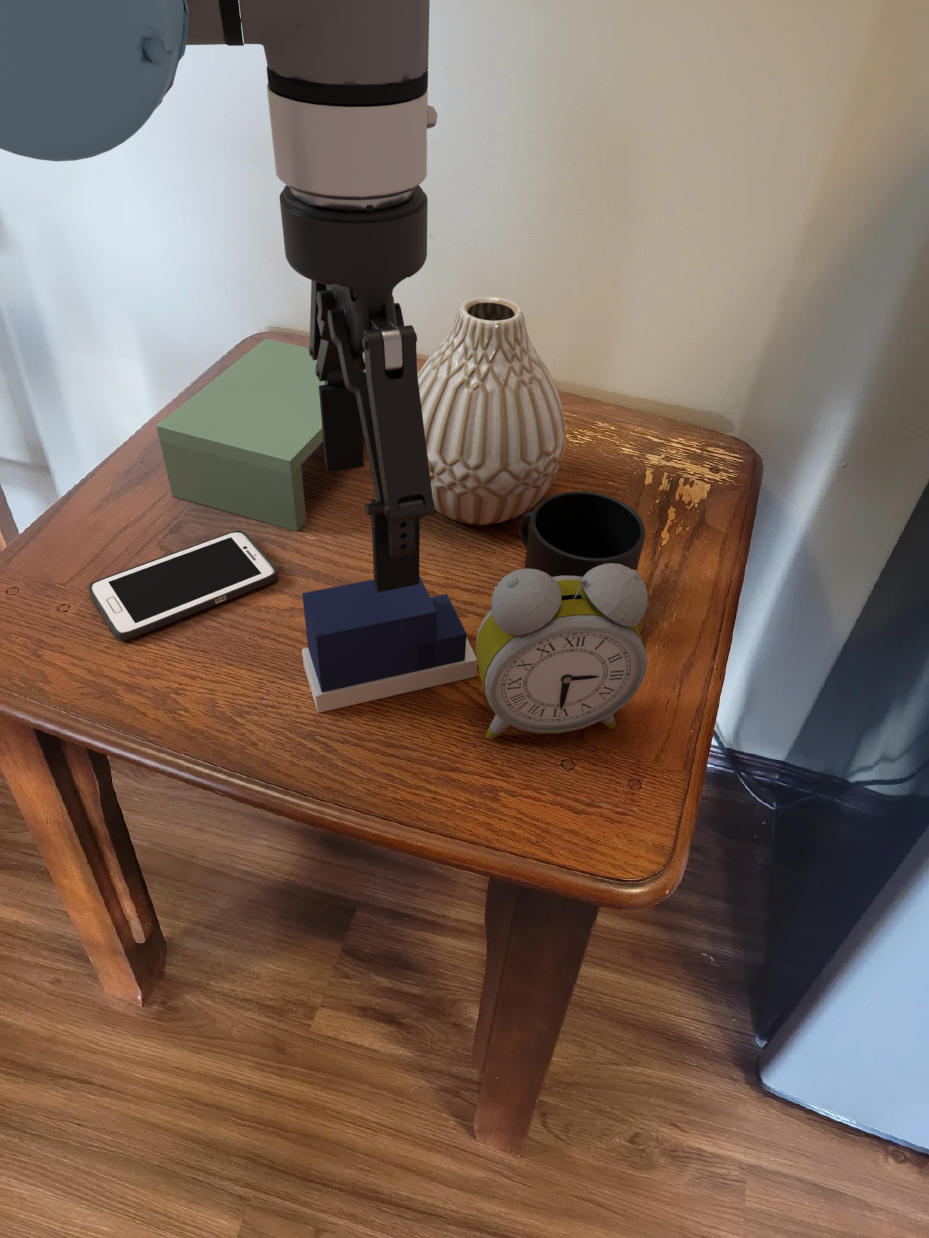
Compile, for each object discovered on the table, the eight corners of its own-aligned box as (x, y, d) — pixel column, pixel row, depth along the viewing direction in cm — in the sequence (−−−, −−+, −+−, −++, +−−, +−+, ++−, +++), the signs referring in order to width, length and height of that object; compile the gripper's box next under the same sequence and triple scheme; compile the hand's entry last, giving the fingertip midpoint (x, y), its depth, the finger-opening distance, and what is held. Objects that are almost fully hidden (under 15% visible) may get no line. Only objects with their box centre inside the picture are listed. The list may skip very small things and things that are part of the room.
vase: (419, 447, 93) (422, 262, 79) (563, 469, 91) (592, 284, 77) (380, 534, 81) (375, 336, 68) (544, 561, 80) (574, 364, 66)
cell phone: (86, 592, 73) (83, 584, 73) (243, 535, 80) (242, 527, 79) (119, 645, 69) (116, 637, 68) (282, 580, 76) (281, 572, 75)
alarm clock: (479, 756, 63) (494, 608, 53) (465, 687, 68) (476, 539, 57) (629, 742, 65) (673, 596, 54) (606, 676, 69) (641, 530, 59)
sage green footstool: (172, 496, 84) (155, 425, 79) (273, 403, 98) (265, 338, 92) (297, 532, 81) (290, 461, 76) (384, 431, 95) (383, 364, 89)
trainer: (317, 713, 65) (309, 639, 60) (303, 665, 69) (294, 592, 63) (476, 676, 69) (482, 604, 63) (455, 633, 72) (459, 561, 67)
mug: (551, 544, 82) (563, 464, 75) (647, 610, 75) (669, 529, 69) (478, 584, 77) (485, 503, 71) (575, 659, 71) (592, 577, 64)
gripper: (514, 273, 36) (484, 633, 50) (363, 116, 52) (374, 420, 67) (338, 291, 34) (361, 660, 48) (239, 122, 50) (279, 434, 65)
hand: (368, 521), depth 58 cm, fingers open, 13 cm apart
